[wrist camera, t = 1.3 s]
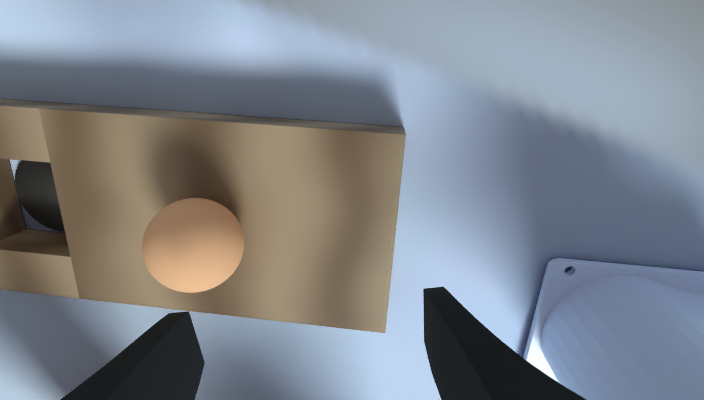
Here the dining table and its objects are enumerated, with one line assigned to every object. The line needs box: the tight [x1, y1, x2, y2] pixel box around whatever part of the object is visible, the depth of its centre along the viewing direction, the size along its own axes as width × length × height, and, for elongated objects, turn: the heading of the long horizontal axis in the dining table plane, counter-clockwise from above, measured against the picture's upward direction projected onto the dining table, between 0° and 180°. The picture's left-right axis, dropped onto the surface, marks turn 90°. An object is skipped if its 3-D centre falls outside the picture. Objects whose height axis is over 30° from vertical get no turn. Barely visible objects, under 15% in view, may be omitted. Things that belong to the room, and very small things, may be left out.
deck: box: [0, 99, 406, 333], centre depth 19 cm, size 24×10×2 cm, turn 87°
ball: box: [142, 198, 244, 293], centre depth 16 cm, size 4×4×4 cm
